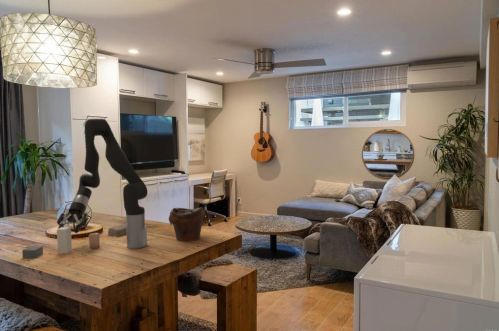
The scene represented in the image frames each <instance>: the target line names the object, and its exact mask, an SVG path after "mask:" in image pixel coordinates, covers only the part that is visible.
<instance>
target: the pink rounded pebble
mask: <svg viewBox="0 0 499 331" xmlns="http://www.w3.org/2000/svg"><path fill="white" fill-rule="evenodd" d="M88 244H89V247H88V248H89V249H90V250H95V249H100V247H101V246H100V245H101V241H100V232H93V233H89V234H88Z"/></svg>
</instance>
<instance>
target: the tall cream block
mask: <svg viewBox="0 0 499 331" xmlns="http://www.w3.org/2000/svg"><path fill="white" fill-rule="evenodd" d="M56 242H57V254H62V255H63V254H69V253H70V252H72V251H73V247H72V246H73V243H72V242H73V241H72V227H70V226H64V227H61V228H59V229H58V228H57V229H56Z"/></svg>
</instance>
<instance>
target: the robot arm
mask: <svg viewBox="0 0 499 331" xmlns="http://www.w3.org/2000/svg"><path fill="white" fill-rule="evenodd" d="M97 136H101V138H102V139H103V140H104V142H105V158H106V161H107V162H108V164H109V165H110V167H111V169H112V170H113V171H115V172H116V173H118V174H119V175H120V176H121V177H122V178H124V179H125V180H126V181H127V184H125V185H124V187H123V190H122V196H123V197H122V198H123V206H124V207H123V208H124V210H125V217H126V218H125V219H126V220H125V223H126V228H127V234H126V247H127V248H128V249H131V250H133V249H143V248H145V247H146V246H147V244H148V234H147V232H148V229H147V226H146V215H145V214H146V213H145V207H143V206H140V204H139V201H141V200H144V199H145V198H146V197H147V196H148V188H147V185H146V184H145V182H144V181H143V180H142V179H141V177H140V176H139V174H138V173H137V171H136V170H135V168H134V167H133V166H132V164H131V163H130V161H129V160H128V157H127V156H126V153H125V152H124V151H123V149H122V147H121V146H120V144H119V143H118V141H117V139H116V137H115V135H114V132H113V130H112V129H111V126H110V124H109V122H108V121H107V120H106V119H104V118H88V119H87V120H86V121H85V124H84V143H85V144H84V145H85V161H84V167H83V168H84V170H85V171H86V172H88V173H82V174H81V175H80V177H79V182H78V184H79V185H78V190H77V192H76V194H75V196H74V198H73V199H72V202H71V203H70V204H71V205H70V206H69V208H68V212H67V213H66V214H65V213H63V212H61V214H60V215H59V217H58V219H57V221H56V223H57V225H58V228H57V229H59V228H61V227H66V225H68V224H69V223H71V224H72V223H74V224H75V223H76V225H75V228H74V231H73V232H74V233H75V234H78V233H79V232H80V230H81V227H85V226H86V224H87V222H88V218H89V215H88V214H87V213H85V212H86V209H87V207H88V205H89V200H90V198H91V196H92V195H93V194H92V190H91V189H90V188H92V189H97V188H98V187H99V186H100V184H101V177H100V173H99V167H100V166H99V164H100V154H99V152H98V150H97V147H96V144H95V138H96V137H97ZM81 219H82V220H81Z"/></svg>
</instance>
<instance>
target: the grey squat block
mask: <svg viewBox="0 0 499 331" xmlns="http://www.w3.org/2000/svg"><path fill="white" fill-rule="evenodd" d="M21 252H22V253H21V254H22V259H36V258H39V257H41V256H42V255H43V254H44V246H43V245H42V246H41V245H39V246H38V245H30V246H28V247H26V248H24V249H22V250H21Z"/></svg>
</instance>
